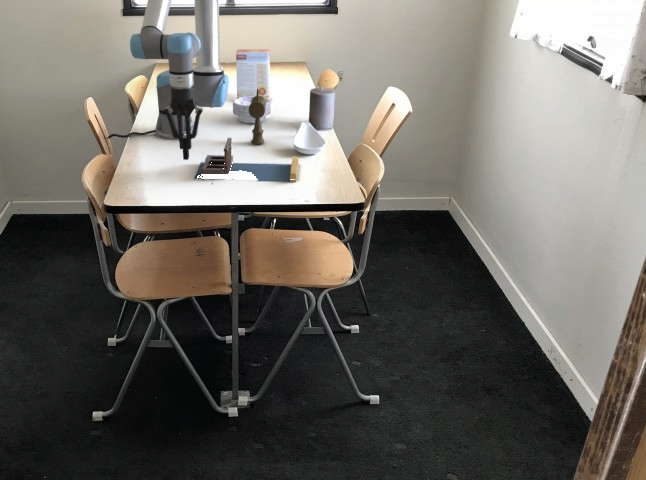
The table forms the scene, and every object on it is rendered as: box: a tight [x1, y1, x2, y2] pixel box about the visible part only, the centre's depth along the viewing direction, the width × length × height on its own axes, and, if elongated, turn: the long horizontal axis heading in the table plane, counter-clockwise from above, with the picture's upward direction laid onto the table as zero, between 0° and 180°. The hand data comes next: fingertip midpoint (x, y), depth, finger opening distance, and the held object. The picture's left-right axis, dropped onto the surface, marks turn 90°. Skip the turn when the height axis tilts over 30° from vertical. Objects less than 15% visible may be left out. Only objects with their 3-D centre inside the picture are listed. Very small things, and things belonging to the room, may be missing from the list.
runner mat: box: [193, 161, 299, 183], centre depth 240 cm, size 34×16×1 cm, turn 84°
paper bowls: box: [232, 96, 272, 124], centre depth 285 cm, size 15×15×8 cm
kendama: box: [249, 89, 266, 146], centre depth 258 cm, size 6×10×20 cm, turn 175°
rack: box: [201, 137, 234, 177], centre depth 238 cm, size 9×14×10 cm, turn 174°
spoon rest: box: [292, 121, 327, 156], centre depth 258 cm, size 24×12×7 cm, turn 5°
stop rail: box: [289, 156, 300, 183], centre depth 237 cm, size 2×16×3 cm, turn 174°
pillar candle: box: [308, 86, 336, 131], centre depth 275 cm, size 10×10×15 cm
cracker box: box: [235, 48, 271, 100], centre depth 305 cm, size 14×6×21 cm, turn 84°
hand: (186, 158), depth 239 cm, fingers closed
